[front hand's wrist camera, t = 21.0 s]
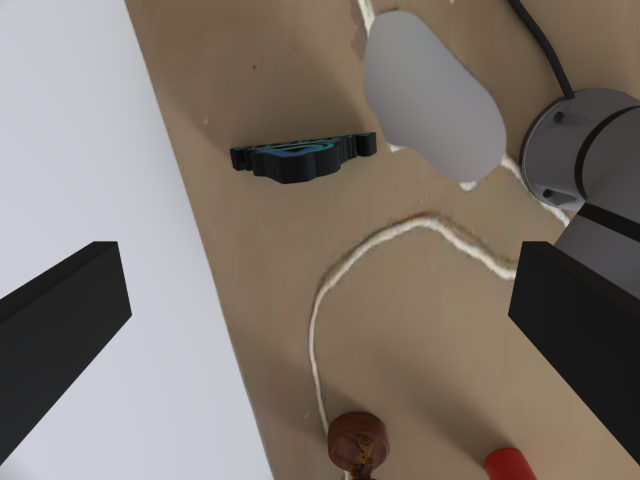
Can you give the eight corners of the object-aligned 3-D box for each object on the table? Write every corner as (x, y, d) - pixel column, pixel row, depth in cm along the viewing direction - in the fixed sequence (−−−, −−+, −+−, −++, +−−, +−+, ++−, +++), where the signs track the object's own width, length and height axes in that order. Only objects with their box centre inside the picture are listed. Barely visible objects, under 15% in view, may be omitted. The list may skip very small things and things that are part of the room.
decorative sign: (234, 167, 50) (200, 193, 36) (230, 148, 49) (195, 167, 35) (375, 151, 49) (398, 171, 35) (374, 132, 49) (397, 145, 34)
